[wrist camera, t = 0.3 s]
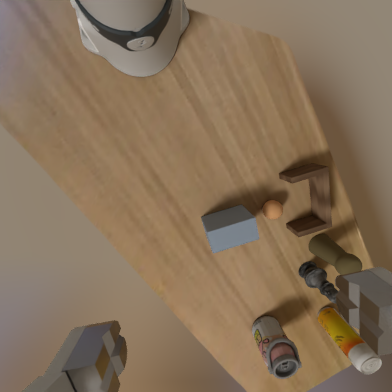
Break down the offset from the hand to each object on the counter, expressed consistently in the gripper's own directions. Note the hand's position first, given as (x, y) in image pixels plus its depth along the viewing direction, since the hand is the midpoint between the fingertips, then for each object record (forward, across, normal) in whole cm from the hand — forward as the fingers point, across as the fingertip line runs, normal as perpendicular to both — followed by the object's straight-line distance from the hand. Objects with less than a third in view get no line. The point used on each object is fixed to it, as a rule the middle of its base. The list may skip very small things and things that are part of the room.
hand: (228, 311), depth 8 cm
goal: (+41, -23, +11) cm, 48 cm away
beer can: (+44, -31, +51) cm, 74 cm away
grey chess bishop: (+43, -26, +33) cm, 60 cm away
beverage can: (+42, -12, +48) cm, 65 cm away
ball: (+40, -16, +12) cm, 45 cm away
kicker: (+40, -5, +13) cm, 42 cm away
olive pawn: (+42, -29, +26) cm, 58 cm away
